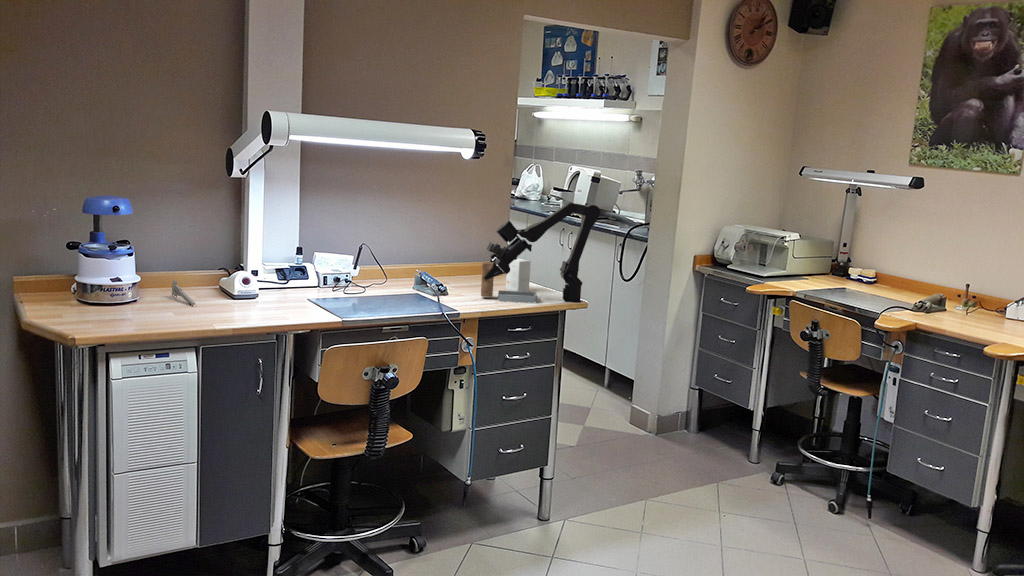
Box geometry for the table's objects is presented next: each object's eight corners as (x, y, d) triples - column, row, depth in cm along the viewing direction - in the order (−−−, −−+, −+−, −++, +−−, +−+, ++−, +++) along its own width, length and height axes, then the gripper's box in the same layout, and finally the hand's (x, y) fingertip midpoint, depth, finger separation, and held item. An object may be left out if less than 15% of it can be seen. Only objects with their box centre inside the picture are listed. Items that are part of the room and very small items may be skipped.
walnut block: (492, 294, 330) (494, 262, 328) (492, 296, 326) (494, 264, 323) (480, 294, 330) (482, 261, 327) (481, 296, 325) (482, 263, 323)
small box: (529, 291, 347) (531, 260, 345) (517, 292, 343) (519, 261, 341) (516, 288, 353) (518, 257, 351) (505, 289, 349) (507, 258, 347)
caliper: (171, 296, 299) (171, 279, 297) (174, 296, 299) (174, 279, 298) (193, 307, 284) (193, 289, 283) (196, 307, 284) (196, 289, 283)
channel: (535, 298, 334) (535, 292, 333) (537, 302, 324) (537, 296, 324) (498, 296, 333) (498, 290, 332) (498, 301, 324) (499, 294, 323)
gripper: (496, 232, 333) (467, 259, 333) (503, 238, 315) (473, 266, 315) (514, 253, 336) (485, 279, 336) (522, 260, 318) (492, 287, 318)
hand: (484, 277), depth 326 cm, fingers closed on walnut block, 5 cm apart
